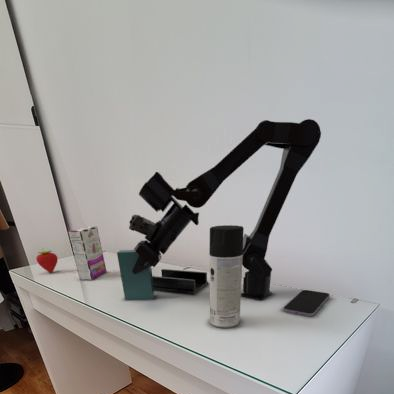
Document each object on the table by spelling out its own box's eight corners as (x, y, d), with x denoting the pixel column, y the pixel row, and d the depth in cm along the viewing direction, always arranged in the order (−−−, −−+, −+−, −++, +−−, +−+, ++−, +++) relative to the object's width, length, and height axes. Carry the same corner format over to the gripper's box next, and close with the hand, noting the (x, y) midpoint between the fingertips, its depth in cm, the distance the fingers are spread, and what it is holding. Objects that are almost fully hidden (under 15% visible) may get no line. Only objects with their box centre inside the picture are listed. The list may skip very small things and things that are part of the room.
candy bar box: (95, 272, 111) (85, 226, 103) (107, 272, 110) (98, 226, 102) (79, 280, 101) (67, 230, 93) (92, 280, 100) (80, 230, 92)
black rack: (208, 284, 90) (208, 271, 88) (193, 295, 82) (192, 281, 80) (165, 280, 97) (163, 268, 95) (146, 289, 88) (145, 277, 86)
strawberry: (63, 272, 113) (56, 245, 108) (43, 276, 109) (35, 248, 104) (58, 269, 117) (51, 244, 112) (38, 273, 113) (30, 247, 108)
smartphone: (281, 308, 68) (302, 289, 78) (281, 312, 69) (302, 293, 79) (312, 314, 64) (330, 293, 74) (312, 318, 65) (330, 297, 75)
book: (153, 299, 80) (147, 251, 74) (125, 300, 81) (116, 252, 74) (154, 295, 83) (149, 249, 76) (127, 296, 83) (120, 250, 77)
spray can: (221, 314, 69) (221, 224, 59) (245, 320, 65) (250, 225, 55) (204, 324, 64) (201, 228, 54) (229, 331, 60) (231, 229, 50)
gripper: (152, 200, 77) (120, 244, 84) (137, 203, 61) (98, 258, 67) (183, 230, 81) (150, 270, 87) (176, 241, 65) (135, 289, 71)
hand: (134, 271), depth 78 cm, fingers closed on book, 3 cm apart
